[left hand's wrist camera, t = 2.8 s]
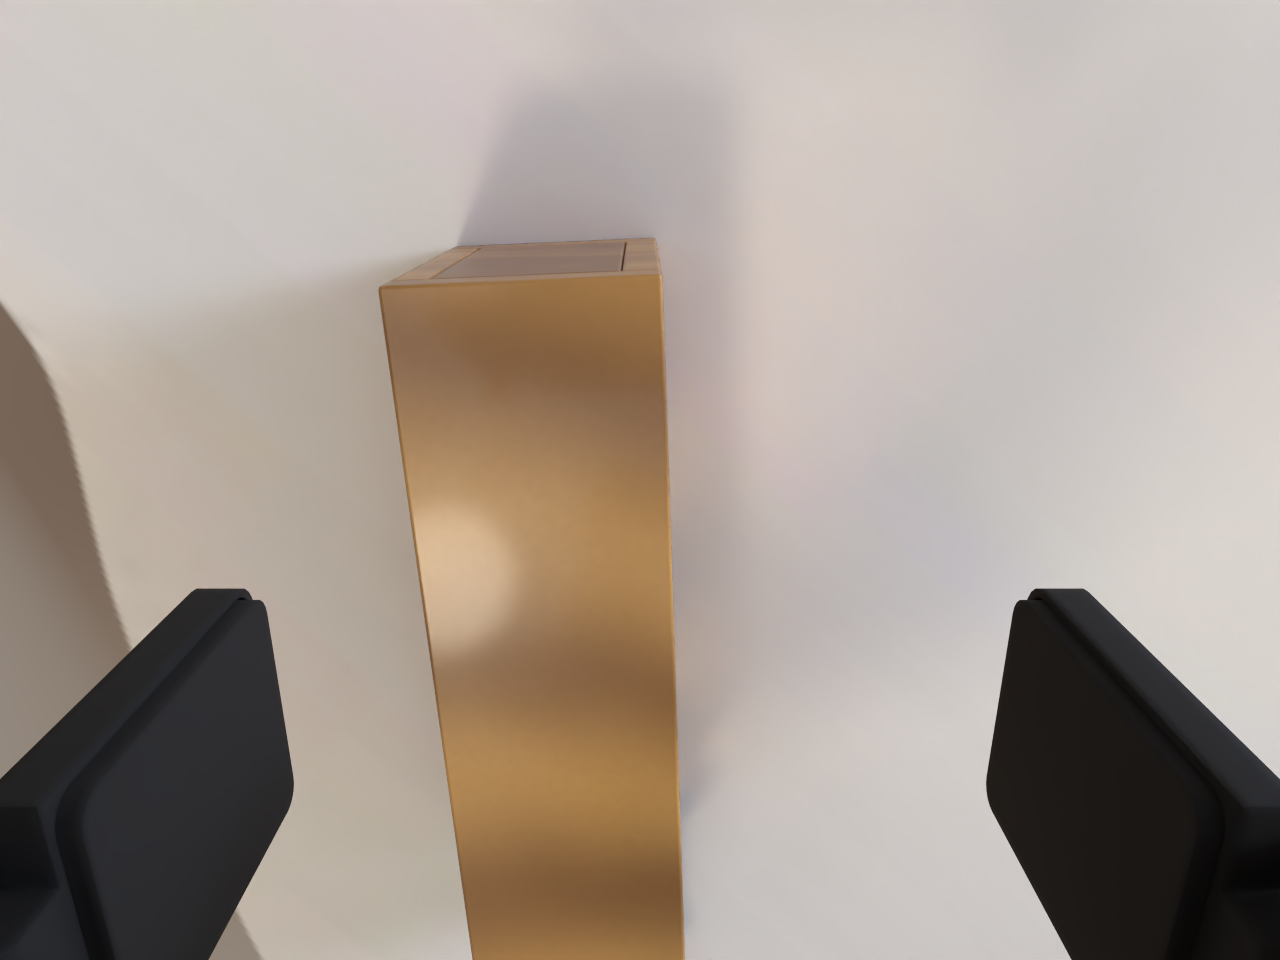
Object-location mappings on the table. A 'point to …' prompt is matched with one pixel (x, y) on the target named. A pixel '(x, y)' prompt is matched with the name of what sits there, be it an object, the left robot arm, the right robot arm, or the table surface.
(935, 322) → the table surface
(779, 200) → the table surface
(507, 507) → the cabinet
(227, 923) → the left robot arm
